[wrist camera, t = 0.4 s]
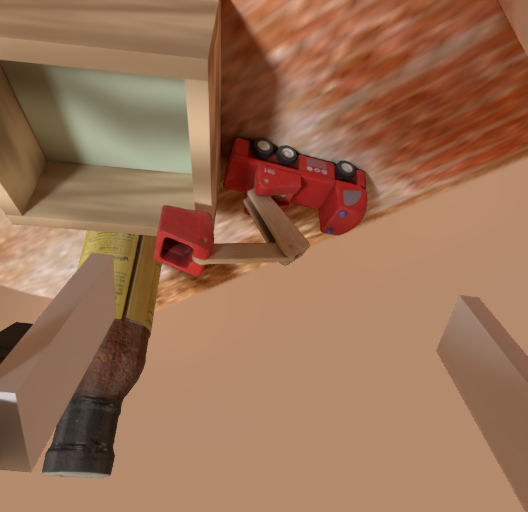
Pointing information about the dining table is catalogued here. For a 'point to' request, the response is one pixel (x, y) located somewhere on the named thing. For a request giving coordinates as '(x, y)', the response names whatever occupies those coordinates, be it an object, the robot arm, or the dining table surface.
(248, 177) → the toy fire truck
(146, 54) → the caddy
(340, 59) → the dining table surface
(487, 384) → the robot arm
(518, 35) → the salt shaker
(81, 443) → the sauce bottle
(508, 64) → the dining table surface
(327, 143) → the dining table surface
